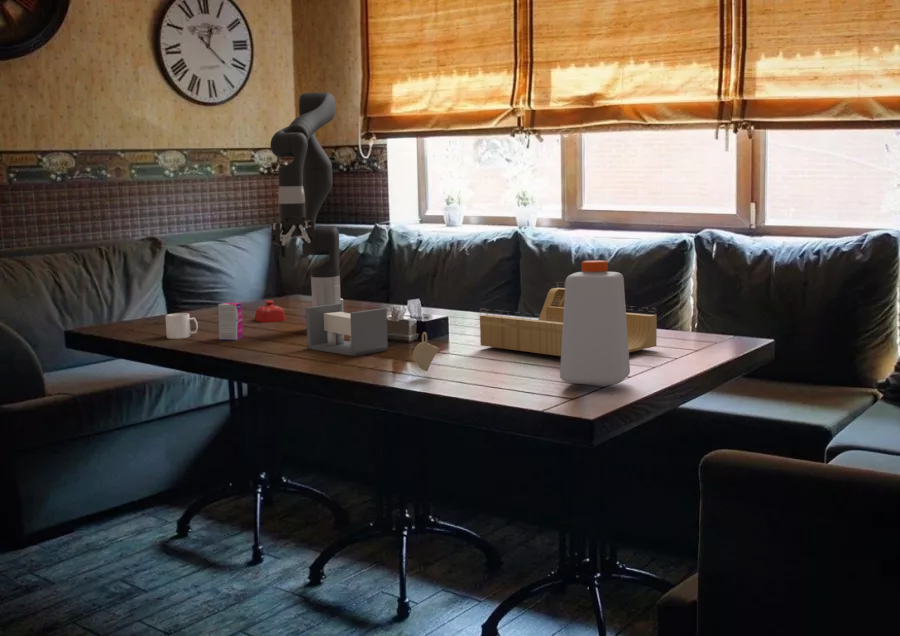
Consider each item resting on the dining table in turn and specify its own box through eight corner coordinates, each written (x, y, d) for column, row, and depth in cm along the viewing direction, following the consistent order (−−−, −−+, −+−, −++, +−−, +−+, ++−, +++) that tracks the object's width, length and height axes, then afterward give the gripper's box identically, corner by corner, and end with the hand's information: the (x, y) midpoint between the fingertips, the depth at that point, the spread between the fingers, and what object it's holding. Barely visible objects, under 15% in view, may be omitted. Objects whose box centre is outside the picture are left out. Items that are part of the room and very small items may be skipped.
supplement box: (236, 341, 312) (234, 304, 310) (218, 341, 313) (216, 304, 311) (244, 338, 317) (242, 302, 316) (226, 338, 318) (224, 302, 317)
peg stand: (307, 348, 295) (305, 307, 293) (339, 343, 303) (338, 303, 301) (355, 356, 280) (353, 313, 278) (387, 350, 288) (386, 308, 286)
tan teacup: (415, 366, 257) (404, 358, 253) (432, 338, 258) (421, 330, 254) (426, 372, 255) (415, 364, 251) (443, 343, 256) (432, 335, 252)
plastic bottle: (555, 383, 236) (554, 263, 232) (571, 371, 250) (571, 258, 246) (620, 386, 231) (620, 264, 227) (633, 374, 244) (633, 258, 241)
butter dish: (292, 325, 347) (291, 300, 346) (259, 328, 341) (258, 303, 340) (280, 321, 357) (279, 297, 356) (249, 324, 351) (247, 300, 350)
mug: (198, 335, 326) (197, 312, 325) (198, 339, 319) (196, 315, 318) (167, 337, 324) (166, 313, 323) (166, 340, 317) (164, 316, 316)
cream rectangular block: (369, 334, 286) (368, 316, 285) (352, 336, 283) (352, 318, 282) (340, 328, 299) (340, 311, 298) (324, 330, 295) (323, 313, 295)
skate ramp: (479, 348, 289) (478, 292, 287) (558, 333, 314) (557, 282, 312) (593, 364, 261) (592, 302, 259) (669, 346, 286) (669, 289, 284)
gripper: (280, 203, 288) (283, 259, 291) (319, 200, 299) (321, 255, 301) (264, 202, 293) (267, 258, 296) (303, 200, 304) (305, 254, 306)
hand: (294, 257), depth 298 cm, fingers open, 8 cm apart
